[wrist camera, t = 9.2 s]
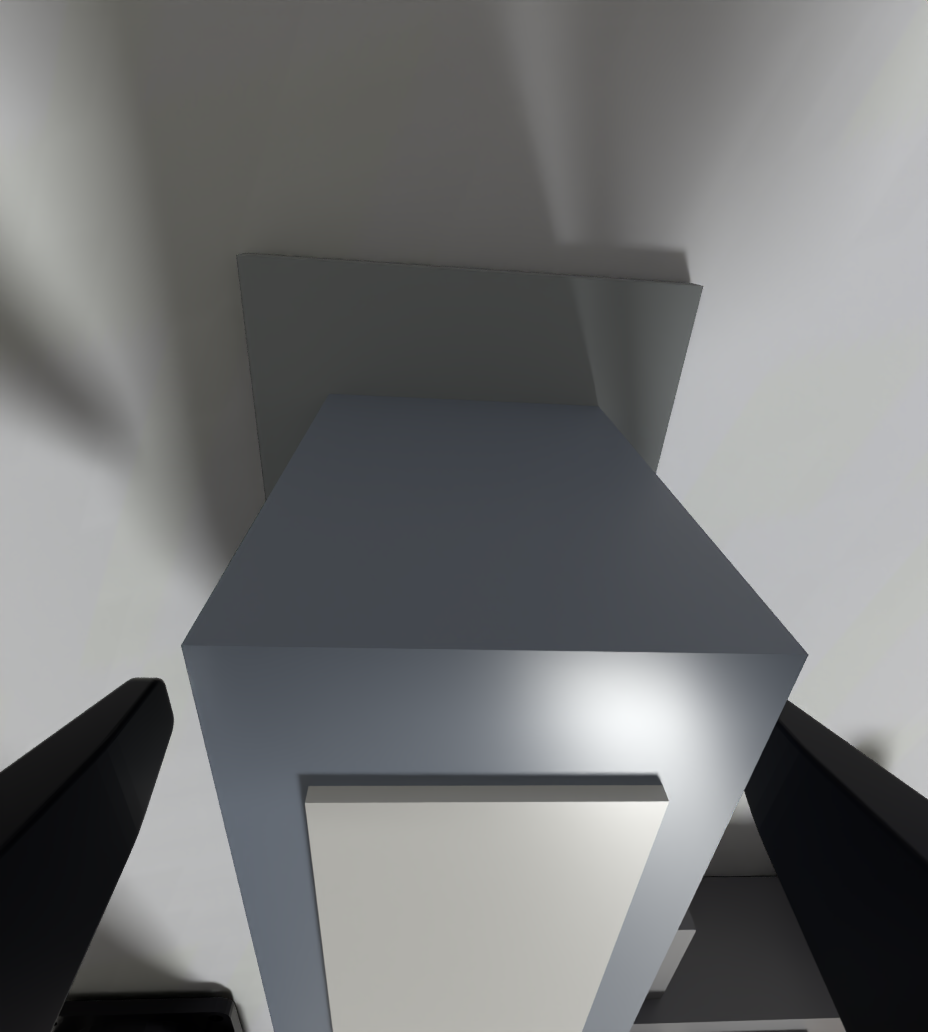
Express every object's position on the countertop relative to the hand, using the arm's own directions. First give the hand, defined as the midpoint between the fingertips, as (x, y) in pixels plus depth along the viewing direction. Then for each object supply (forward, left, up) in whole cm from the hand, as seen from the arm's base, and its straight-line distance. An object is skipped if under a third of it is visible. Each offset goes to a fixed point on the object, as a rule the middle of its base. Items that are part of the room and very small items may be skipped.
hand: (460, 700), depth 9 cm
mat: (0, 0, -3) cm, 3 cm away
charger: (0, 0, -3) cm, 3 cm away
